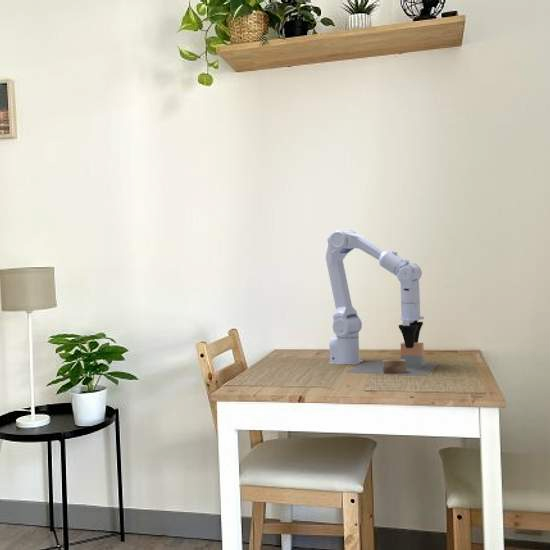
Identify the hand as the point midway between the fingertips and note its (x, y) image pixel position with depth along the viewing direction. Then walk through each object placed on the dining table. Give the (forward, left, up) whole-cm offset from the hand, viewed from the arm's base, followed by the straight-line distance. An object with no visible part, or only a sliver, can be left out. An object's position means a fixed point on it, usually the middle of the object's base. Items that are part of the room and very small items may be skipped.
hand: (411, 346), depth 194 cm
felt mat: (-5, -4, -7) cm, 9 cm away
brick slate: (0, 0, -6) cm, 6 cm away
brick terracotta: (0, 0, -3) cm, 3 cm away
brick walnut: (-3, -11, -6) cm, 13 cm away
